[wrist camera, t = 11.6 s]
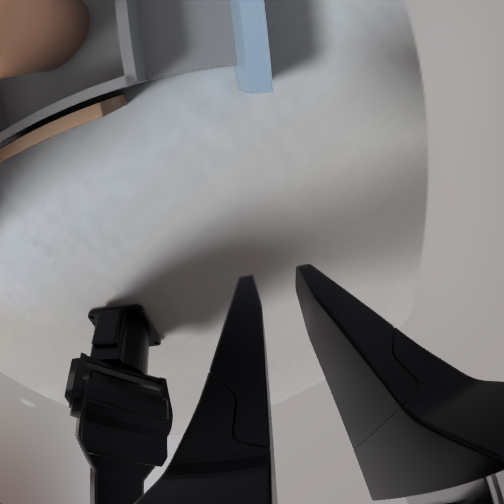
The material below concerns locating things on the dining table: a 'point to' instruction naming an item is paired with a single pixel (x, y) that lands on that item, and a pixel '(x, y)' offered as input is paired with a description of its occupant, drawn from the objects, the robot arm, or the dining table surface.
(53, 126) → the dock
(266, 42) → the tray
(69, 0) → the peach tall cylinder
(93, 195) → the dining table surface
